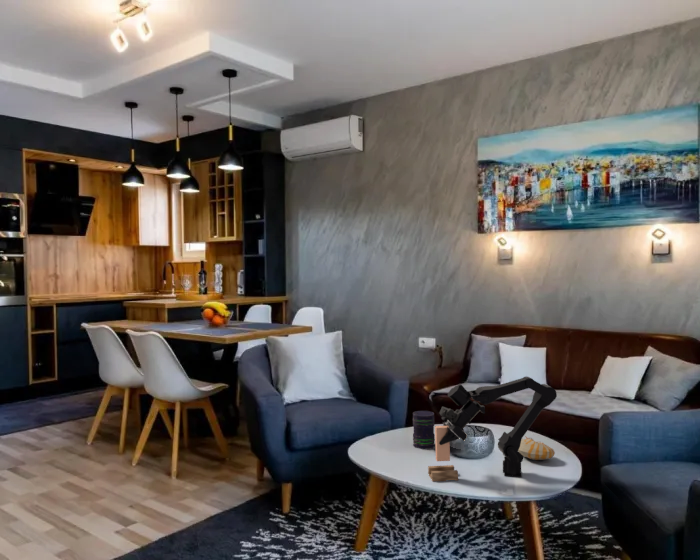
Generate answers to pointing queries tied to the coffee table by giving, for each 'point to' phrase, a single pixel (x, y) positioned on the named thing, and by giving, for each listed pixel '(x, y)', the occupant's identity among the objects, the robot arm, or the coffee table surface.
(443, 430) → the peach rectangular block
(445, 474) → the rack
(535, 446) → the nautilus
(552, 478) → the coffee table surface
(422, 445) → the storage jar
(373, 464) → the coffee table surface
